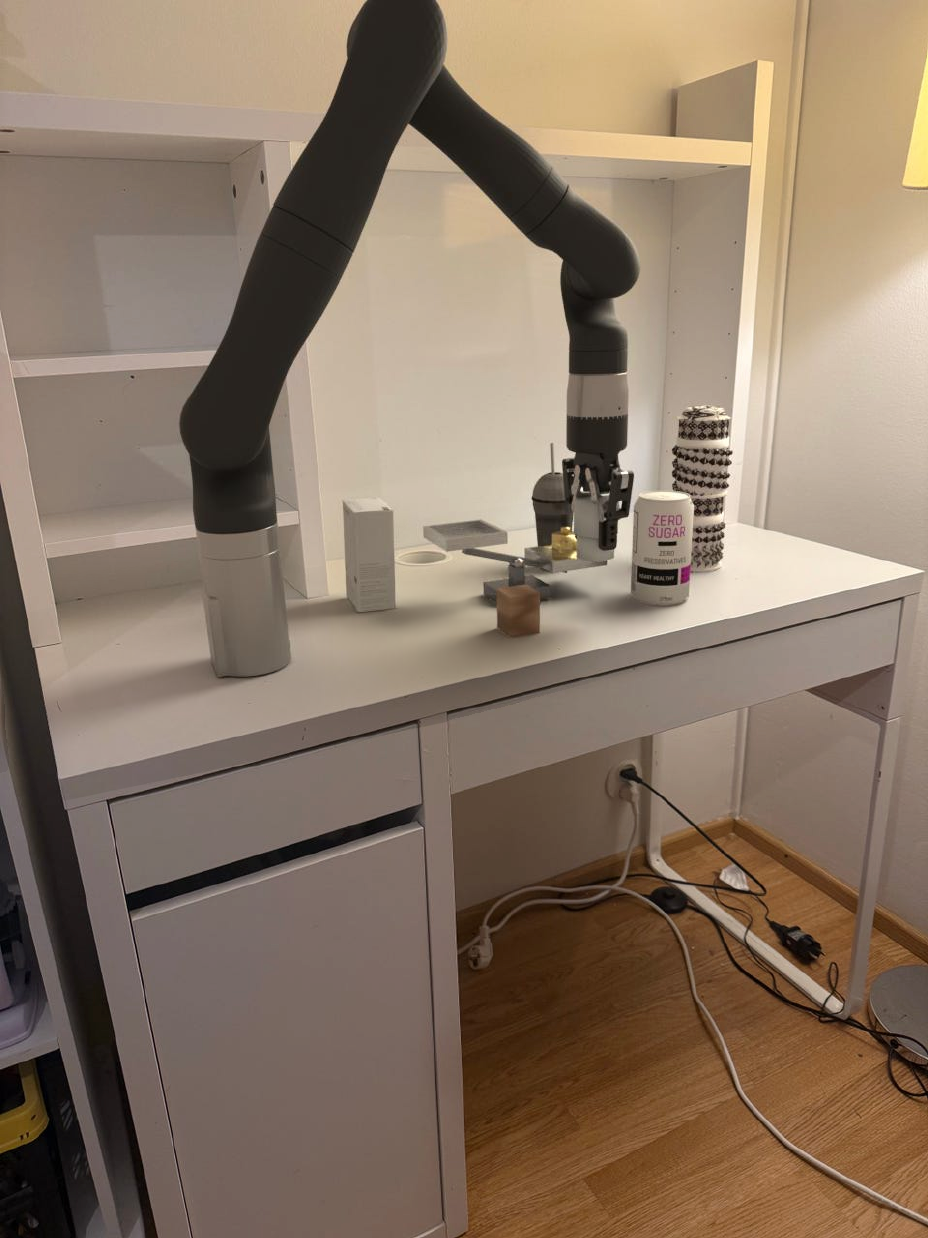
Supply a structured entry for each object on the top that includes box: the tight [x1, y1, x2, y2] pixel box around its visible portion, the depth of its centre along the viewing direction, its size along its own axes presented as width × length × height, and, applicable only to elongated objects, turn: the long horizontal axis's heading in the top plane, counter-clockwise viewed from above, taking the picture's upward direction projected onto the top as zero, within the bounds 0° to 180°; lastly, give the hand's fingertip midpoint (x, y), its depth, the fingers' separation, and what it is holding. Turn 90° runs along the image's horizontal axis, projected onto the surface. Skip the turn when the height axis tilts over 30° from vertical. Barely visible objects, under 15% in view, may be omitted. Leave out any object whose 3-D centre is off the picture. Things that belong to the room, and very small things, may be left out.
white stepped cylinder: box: [573, 494, 619, 562], centre depth 113 cm, size 6×6×8 cm
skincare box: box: [342, 497, 397, 613], centre depth 126 cm, size 8×6×15 cm
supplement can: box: [630, 489, 694, 607], centre depth 124 cm, size 8×8×15 cm
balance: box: [422, 518, 608, 605], centre depth 127 cm, size 25×9×11 cm, turn 112°
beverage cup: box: [530, 442, 574, 573], centre depth 140 cm, size 7×7×20 cm
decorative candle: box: [671, 405, 734, 573], centre depth 138 cm, size 9×9×25 cm
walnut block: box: [496, 585, 541, 639], centre depth 115 cm, size 4×4×6 cm
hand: (595, 543), depth 114 cm, fingers closed on white stepped cylinder, 5 cm apart
